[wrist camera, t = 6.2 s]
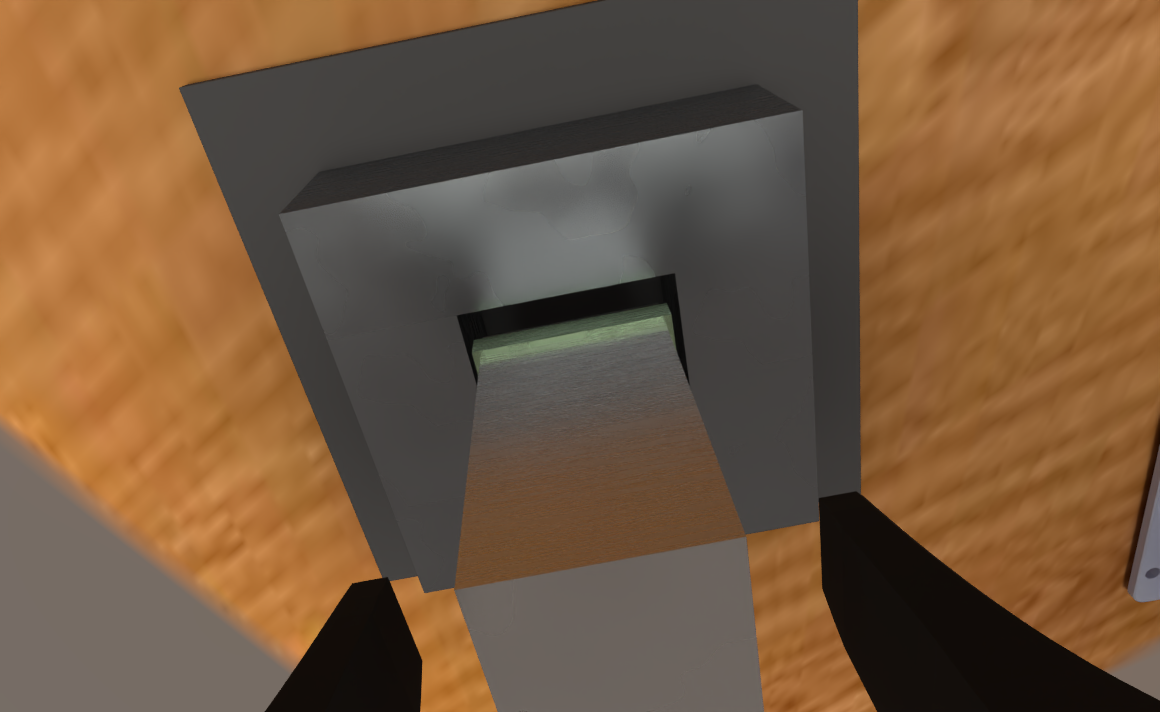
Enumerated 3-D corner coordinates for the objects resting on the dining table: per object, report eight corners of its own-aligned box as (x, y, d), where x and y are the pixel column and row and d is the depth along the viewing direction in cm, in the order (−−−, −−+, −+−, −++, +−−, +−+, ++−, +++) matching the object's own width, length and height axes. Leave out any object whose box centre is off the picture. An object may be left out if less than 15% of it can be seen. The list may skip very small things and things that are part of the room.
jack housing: (781, 457, 24) (819, 532, 21) (440, 520, 24) (428, 603, 21) (756, 84, 19) (802, 109, 15) (319, 171, 19) (279, 214, 16)
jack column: (685, 451, 19) (775, 730, 12) (516, 482, 19) (511, 776, 12) (663, 295, 17) (756, 526, 10) (475, 331, 17) (440, 584, 10)
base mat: (854, 485, 25) (860, 494, 25) (386, 571, 26) (384, 582, 25) (849, -51, 18) (857, -52, 17) (187, 84, 18) (178, 88, 18)
